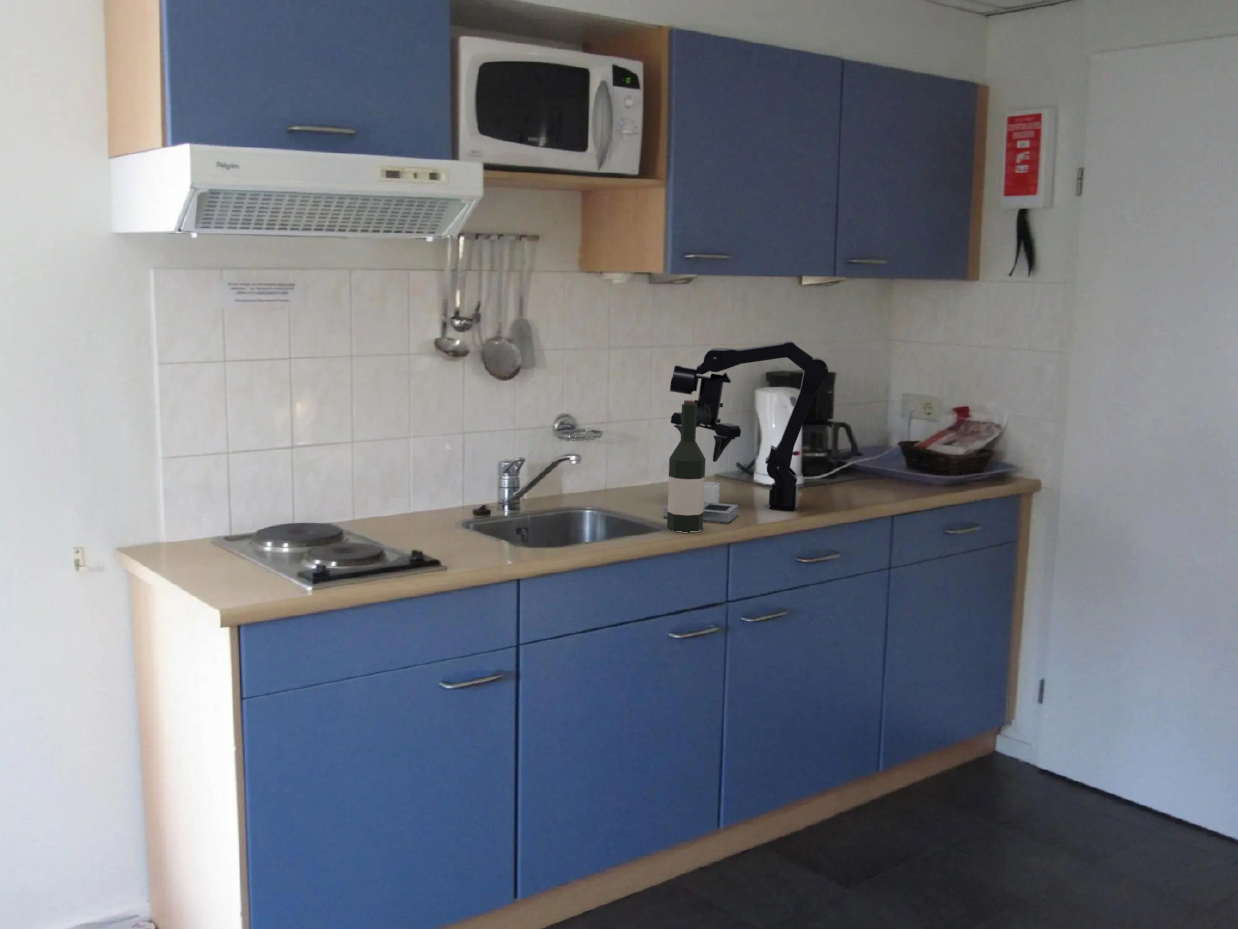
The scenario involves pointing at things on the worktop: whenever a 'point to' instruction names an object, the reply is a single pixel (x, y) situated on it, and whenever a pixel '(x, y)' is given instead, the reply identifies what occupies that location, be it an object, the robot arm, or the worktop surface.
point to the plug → (711, 492)
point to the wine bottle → (686, 477)
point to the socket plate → (715, 512)
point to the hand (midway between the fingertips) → (700, 457)
